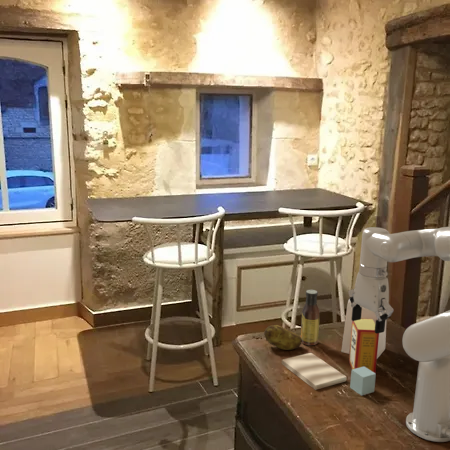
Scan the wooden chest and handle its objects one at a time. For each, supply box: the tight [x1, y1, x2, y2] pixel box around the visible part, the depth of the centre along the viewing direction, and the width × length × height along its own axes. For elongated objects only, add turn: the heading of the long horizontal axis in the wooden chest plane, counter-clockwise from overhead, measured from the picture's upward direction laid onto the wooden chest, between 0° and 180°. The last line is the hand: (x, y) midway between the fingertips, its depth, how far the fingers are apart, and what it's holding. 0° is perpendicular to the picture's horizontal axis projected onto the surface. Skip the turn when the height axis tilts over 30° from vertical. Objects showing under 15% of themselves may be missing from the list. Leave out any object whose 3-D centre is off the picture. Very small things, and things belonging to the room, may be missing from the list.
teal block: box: [349, 367, 377, 396], centre depth 155 cm, size 5×5×6 cm
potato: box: [263, 324, 302, 351], centre depth 182 cm, size 8×13×8 cm, turn 72°
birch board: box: [281, 352, 347, 391], centre depth 166 cm, size 18×12×2 cm, turn 28°
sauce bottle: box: [300, 289, 320, 347], centre depth 185 cm, size 6×6×20 cm
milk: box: [340, 297, 387, 359], centre depth 179 cm, size 12×12×26 cm
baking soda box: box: [348, 318, 379, 373], centre depth 167 cm, size 10×6×16 cm
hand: (367, 326), depth 152 cm, fingers open, 9 cm apart
